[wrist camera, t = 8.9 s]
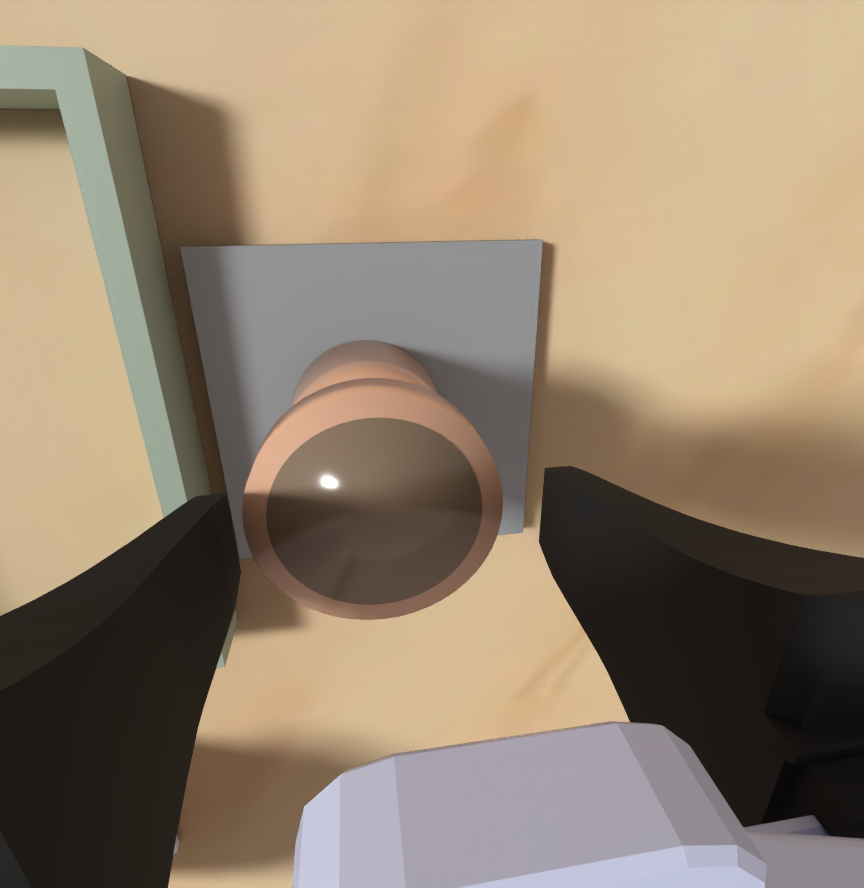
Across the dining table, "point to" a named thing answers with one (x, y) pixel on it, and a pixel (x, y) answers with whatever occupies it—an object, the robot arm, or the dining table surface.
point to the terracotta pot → (371, 489)
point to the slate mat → (368, 336)
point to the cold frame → (122, 251)
